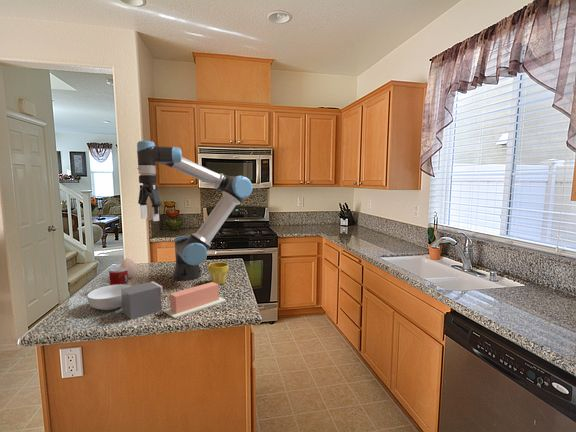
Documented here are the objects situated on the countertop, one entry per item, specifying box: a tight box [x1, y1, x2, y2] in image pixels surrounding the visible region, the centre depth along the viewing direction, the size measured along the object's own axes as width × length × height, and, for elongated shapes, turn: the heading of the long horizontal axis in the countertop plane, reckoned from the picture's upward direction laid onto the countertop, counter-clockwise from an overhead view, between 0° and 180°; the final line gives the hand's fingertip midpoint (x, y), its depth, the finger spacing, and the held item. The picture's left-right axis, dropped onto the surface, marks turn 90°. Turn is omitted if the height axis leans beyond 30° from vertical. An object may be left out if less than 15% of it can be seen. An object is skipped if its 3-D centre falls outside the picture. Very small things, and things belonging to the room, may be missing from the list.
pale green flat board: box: [162, 296, 227, 319], centre depth 132 cm, size 24×10×1 cm, turn 136°
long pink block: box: [169, 281, 220, 314], centre depth 132 cm, size 20×5×7 cm, turn 136°
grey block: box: [121, 281, 164, 320], centre depth 127 cm, size 13×10×10 cm
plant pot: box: [207, 261, 229, 286], centre depth 162 cm, size 10×10×10 cm
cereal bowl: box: [86, 284, 133, 311], centre depth 132 cm, size 17×17×7 cm
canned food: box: [108, 266, 129, 286], centre depth 150 cm, size 8×8×11 cm
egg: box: [119, 257, 137, 280], centre depth 169 cm, size 8×8×11 cm
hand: (150, 219), depth 148 cm, fingers open, 13 cm apart
